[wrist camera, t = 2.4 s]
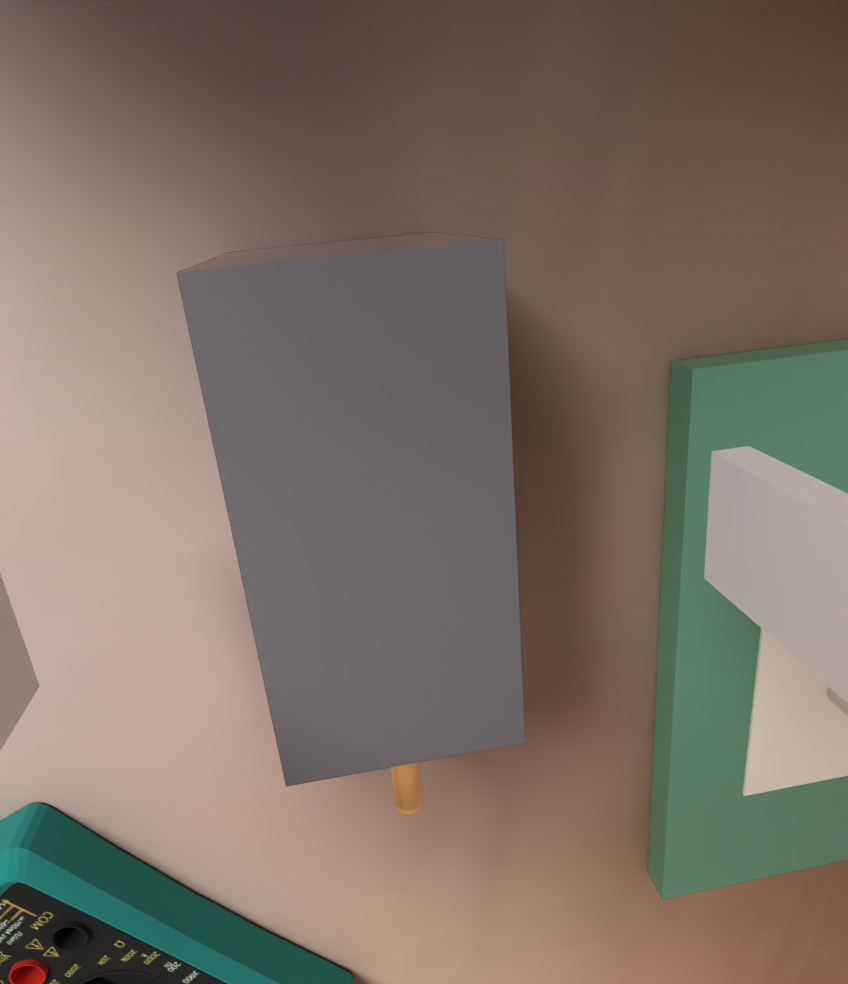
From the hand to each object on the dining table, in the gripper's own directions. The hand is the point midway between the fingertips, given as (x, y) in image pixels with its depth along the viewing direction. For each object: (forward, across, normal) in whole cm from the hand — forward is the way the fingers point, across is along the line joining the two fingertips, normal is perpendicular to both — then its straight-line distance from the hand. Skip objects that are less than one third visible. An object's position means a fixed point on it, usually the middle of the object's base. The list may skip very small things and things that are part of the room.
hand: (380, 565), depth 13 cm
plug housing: (+7, 0, -1) cm, 7 cm away
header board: (+7, +15, -8) cm, 19 cm away
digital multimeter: (+8, -10, -17) cm, 21 cm away
